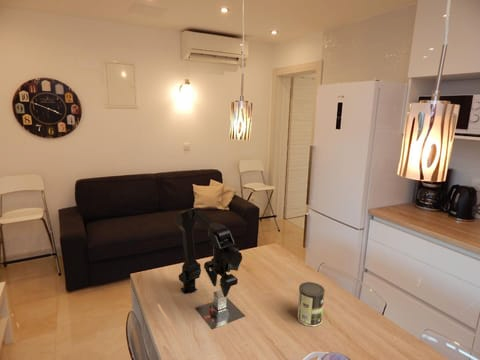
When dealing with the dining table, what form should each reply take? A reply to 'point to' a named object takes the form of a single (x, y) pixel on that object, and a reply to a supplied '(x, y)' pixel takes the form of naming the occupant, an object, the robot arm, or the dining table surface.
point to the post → (219, 300)
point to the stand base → (219, 314)
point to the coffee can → (310, 304)
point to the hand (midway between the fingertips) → (219, 291)
